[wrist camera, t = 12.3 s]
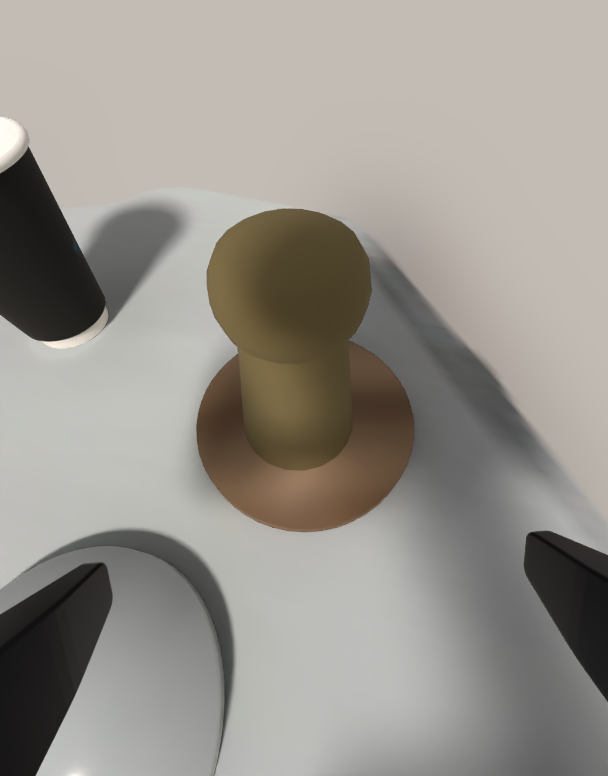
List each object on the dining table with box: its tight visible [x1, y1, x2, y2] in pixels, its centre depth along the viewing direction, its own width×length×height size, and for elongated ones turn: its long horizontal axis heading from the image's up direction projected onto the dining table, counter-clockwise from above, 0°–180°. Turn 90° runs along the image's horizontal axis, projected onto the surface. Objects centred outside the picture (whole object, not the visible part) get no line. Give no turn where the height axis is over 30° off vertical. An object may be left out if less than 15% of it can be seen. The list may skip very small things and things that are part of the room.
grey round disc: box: [0, 546, 225, 776], centre depth 13 cm, size 12×12×1 cm
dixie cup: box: [0, 116, 109, 348], centre depth 20 cm, size 8×8×11 cm
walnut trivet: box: [197, 341, 414, 532], centre depth 19 cm, size 12×12×1 cm
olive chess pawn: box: [207, 209, 372, 471], centre depth 14 cm, size 6×6×11 cm
